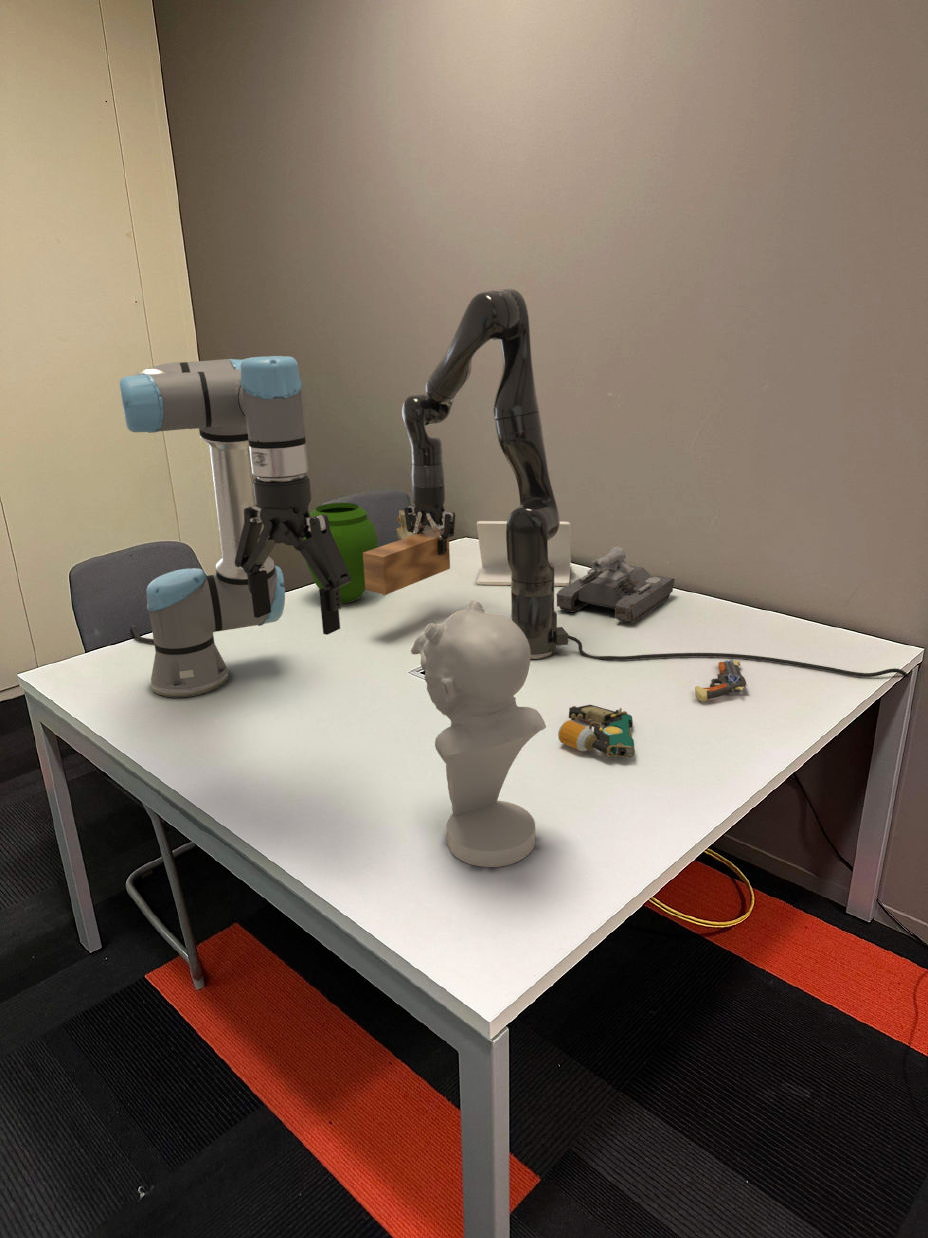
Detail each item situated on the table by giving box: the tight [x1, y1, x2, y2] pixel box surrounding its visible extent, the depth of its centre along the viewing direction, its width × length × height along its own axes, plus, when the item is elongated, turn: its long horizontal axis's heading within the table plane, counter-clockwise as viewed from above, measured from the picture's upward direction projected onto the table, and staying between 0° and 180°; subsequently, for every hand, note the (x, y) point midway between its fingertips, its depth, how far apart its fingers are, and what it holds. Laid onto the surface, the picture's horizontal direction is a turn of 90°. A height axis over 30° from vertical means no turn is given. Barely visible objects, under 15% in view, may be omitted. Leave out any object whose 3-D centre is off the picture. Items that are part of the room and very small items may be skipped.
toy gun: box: [694, 659, 749, 702], centre depth 169 cm, size 3×19×10 cm
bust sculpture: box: [410, 599, 547, 868], centre depth 121 cm, size 16×24×35 cm
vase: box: [303, 502, 379, 604], centre depth 220 cm, size 20×20×24 cm
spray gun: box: [557, 704, 636, 759], centre depth 150 cm, size 4×17×15 cm
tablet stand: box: [476, 520, 572, 587], centre depth 236 cm, size 18×25×17 cm
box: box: [363, 529, 451, 596], centre depth 197 cm, size 23×6×9 cm, turn 142°
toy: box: [556, 546, 676, 624], centre depth 212 cm, size 25×20×15 cm
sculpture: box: [396, 509, 413, 540], centre depth 253 cm, size 6×7×15 cm
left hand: (296, 623), depth 123 cm, fingers open, 13 cm apart
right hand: (431, 552), depth 203 cm, fingers closed on box, 6 cm apart
